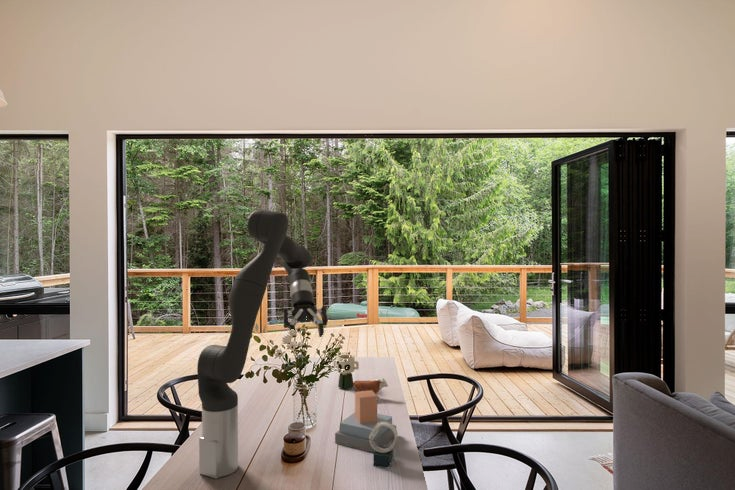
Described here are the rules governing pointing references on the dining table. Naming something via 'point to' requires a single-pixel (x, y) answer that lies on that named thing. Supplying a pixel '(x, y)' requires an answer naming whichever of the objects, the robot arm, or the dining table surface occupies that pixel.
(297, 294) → the robot arm
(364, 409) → the terracotta brick
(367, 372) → the dining table surface
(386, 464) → the grey ring on block
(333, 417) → the dining table surface
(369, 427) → the two-tier stepped box
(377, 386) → the bull figurine
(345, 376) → the character mug
